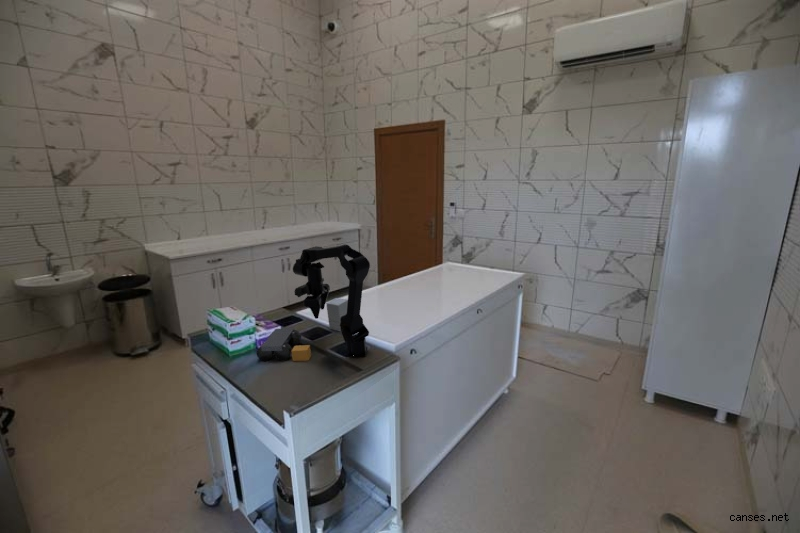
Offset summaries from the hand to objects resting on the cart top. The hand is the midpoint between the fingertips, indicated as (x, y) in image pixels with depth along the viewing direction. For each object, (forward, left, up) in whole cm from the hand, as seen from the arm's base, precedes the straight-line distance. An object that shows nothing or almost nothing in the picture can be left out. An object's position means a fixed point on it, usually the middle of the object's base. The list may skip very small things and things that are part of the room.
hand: (319, 313), depth 152 cm
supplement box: (-5, -12, -12) cm, 18 cm away
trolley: (+15, +9, -12) cm, 21 cm away
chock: (+4, +15, -12) cm, 19 cm away
